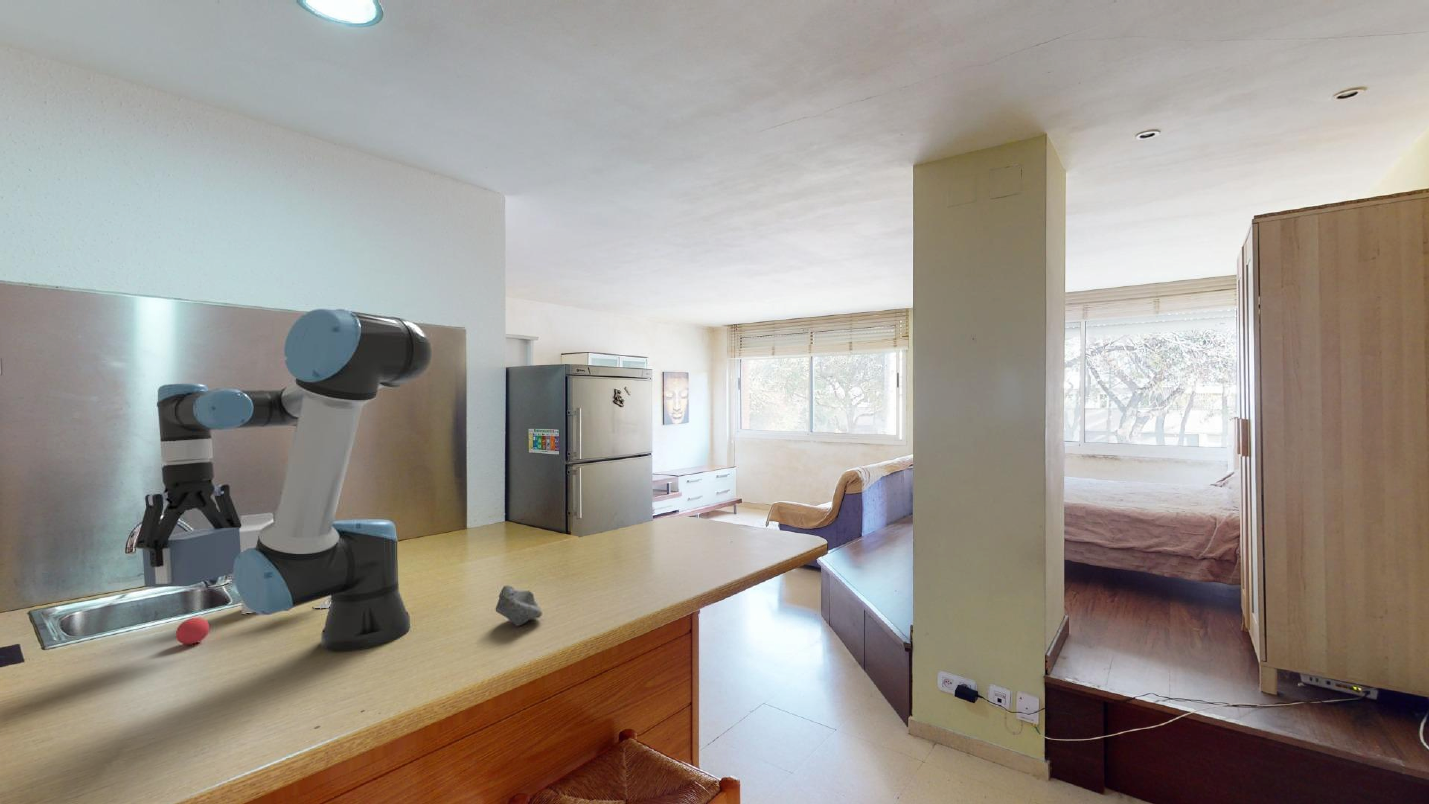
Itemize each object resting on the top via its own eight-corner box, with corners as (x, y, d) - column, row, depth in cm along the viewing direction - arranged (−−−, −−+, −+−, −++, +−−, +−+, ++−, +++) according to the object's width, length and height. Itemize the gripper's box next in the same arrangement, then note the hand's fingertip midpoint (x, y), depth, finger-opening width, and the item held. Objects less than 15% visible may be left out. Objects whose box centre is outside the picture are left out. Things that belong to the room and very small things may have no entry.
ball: (216, 638, 118) (215, 614, 118) (189, 649, 113) (188, 623, 113) (196, 637, 119) (195, 613, 119) (169, 648, 114) (168, 622, 114)
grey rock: (548, 627, 116) (546, 587, 116) (500, 638, 112) (499, 596, 112) (536, 611, 126) (534, 574, 126) (491, 620, 121) (490, 582, 121)
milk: (274, 609, 134) (270, 514, 134) (241, 615, 131) (237, 518, 131) (278, 602, 140) (275, 510, 140) (246, 607, 137) (243, 513, 137)
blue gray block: (242, 570, 119) (239, 527, 119) (187, 586, 109) (184, 539, 109) (201, 571, 121) (198, 529, 121) (144, 587, 111) (141, 540, 111)
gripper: (230, 457, 127) (237, 559, 126) (102, 470, 104) (110, 593, 104) (259, 455, 125) (265, 558, 125) (135, 467, 103) (143, 593, 103)
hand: (194, 574), depth 115 cm, fingers closed on blue gray block, 10 cm apart
